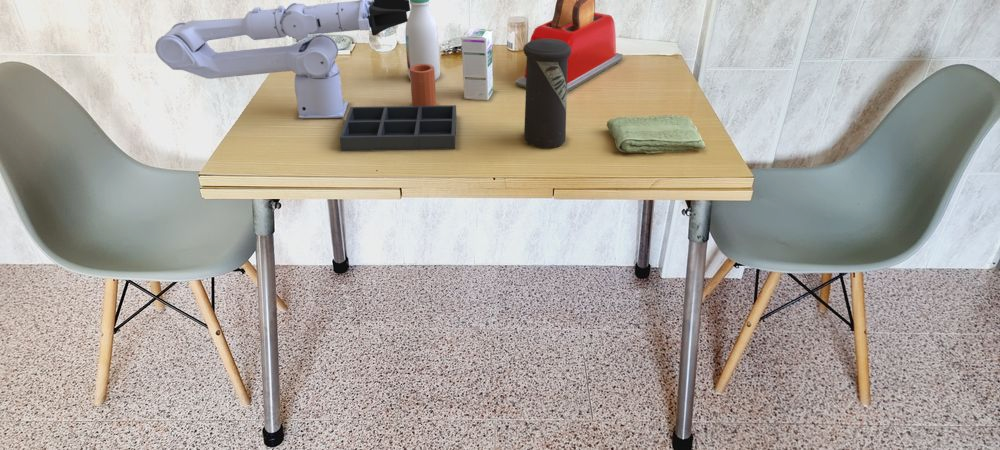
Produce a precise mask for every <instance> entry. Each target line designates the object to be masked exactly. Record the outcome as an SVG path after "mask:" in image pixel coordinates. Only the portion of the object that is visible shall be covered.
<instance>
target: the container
mask: <svg viewBox="0 0 1000 450" xmlns="http://www.w3.org/2000/svg"><path fill="white" fill-rule="evenodd" d="M522 50H523V54H524V55H525V57H526V62H527V65H526V64H525V69H526V88H525V100H524V101H525V103H524V104H525V105H524V124H523V125H524V127H523V128H524V129H523V139H524V141H525V143H527V144H528V145H530V146H533V147H536V148H541V149H552V148H557V147H560V146H563V145H564V144H565V143H566V134H567V97H568V92H567V70H568V57H569V56H570V54H571V51H572V50H571V47H570V46H569V45H568V44H567V43H566V42H564V41H562V40H558V39H537V40H533V41H530V40H529V41H528V42H527V43H525V44H524V45H523V49H522Z"/></svg>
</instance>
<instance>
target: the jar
mask: <svg viewBox="0 0 1000 450" xmlns="http://www.w3.org/2000/svg"><path fill="white" fill-rule="evenodd" d="M409 79H410V90H411V91H410V93H411V94H410V95H411V106H437V92H436V80H435V71H434V67H433V66H432V65H429V64H418V65H414V66H412V67H410V78H409Z"/></svg>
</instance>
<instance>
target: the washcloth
mask: <svg viewBox="0 0 1000 450" xmlns="http://www.w3.org/2000/svg"><path fill="white" fill-rule="evenodd" d="M606 127H607V129H608V131H609V132H610V135H611V137H612V138H614V143H615V146H616V149H617V150H618V151H619V152H621V153H625V154H629V153H631V154H632V153H634V154H636V153H640V154H641V153H646V154H648V155H649V154H659V153H660V154H661V153H679V152H689V151H698V150H699V151H701V150H702V149H705V148H706V143H705V142H704V140H703V138H702V136H701V134H700V132H699V131H698V128H697V126H696V125H694V123H693V121H692V118H691V117H689V116H683V115H673V114H670V115H669V114H668V115H667V114H665V115H652V116H650V115H649V116H633V115H632V116H617V117H614V118H610V119H609V120H607V122H606Z"/></svg>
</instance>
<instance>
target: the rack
mask: <svg viewBox="0 0 1000 450" xmlns="http://www.w3.org/2000/svg"><path fill="white" fill-rule="evenodd" d="M338 139H339V145H340V151H341V152H361V151H362V152H364V151H367V152H368V151H416V150H419V151H421V150H456V141H457V105H455V104H454V105H452V104H450V105H449V104H448V105H447V104H446V105H445V104H444V105H436V106H412V105H389V106H388V105H381V106H380V105H379V106H376V105H375V106H349V110H348V111H347V114H346V117H345V120H344V123H343V126H342V128H341V132H340V134H339V137H338Z"/></svg>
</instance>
